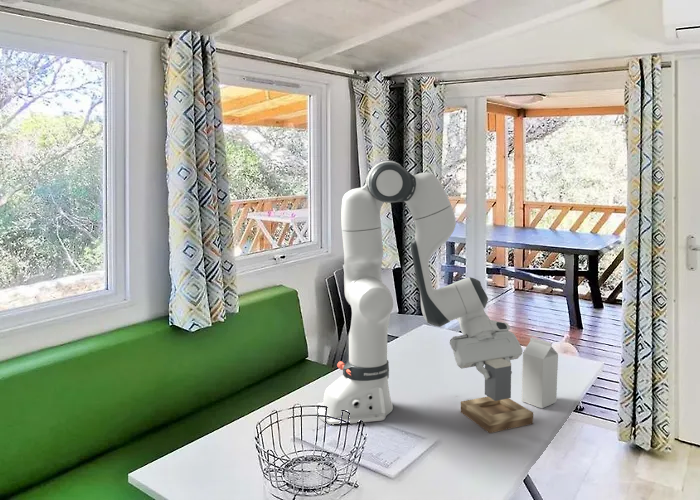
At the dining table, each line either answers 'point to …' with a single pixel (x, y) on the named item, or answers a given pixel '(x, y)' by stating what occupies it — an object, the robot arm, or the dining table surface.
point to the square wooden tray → (496, 413)
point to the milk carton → (539, 373)
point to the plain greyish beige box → (498, 379)
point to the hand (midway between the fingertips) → (499, 376)
